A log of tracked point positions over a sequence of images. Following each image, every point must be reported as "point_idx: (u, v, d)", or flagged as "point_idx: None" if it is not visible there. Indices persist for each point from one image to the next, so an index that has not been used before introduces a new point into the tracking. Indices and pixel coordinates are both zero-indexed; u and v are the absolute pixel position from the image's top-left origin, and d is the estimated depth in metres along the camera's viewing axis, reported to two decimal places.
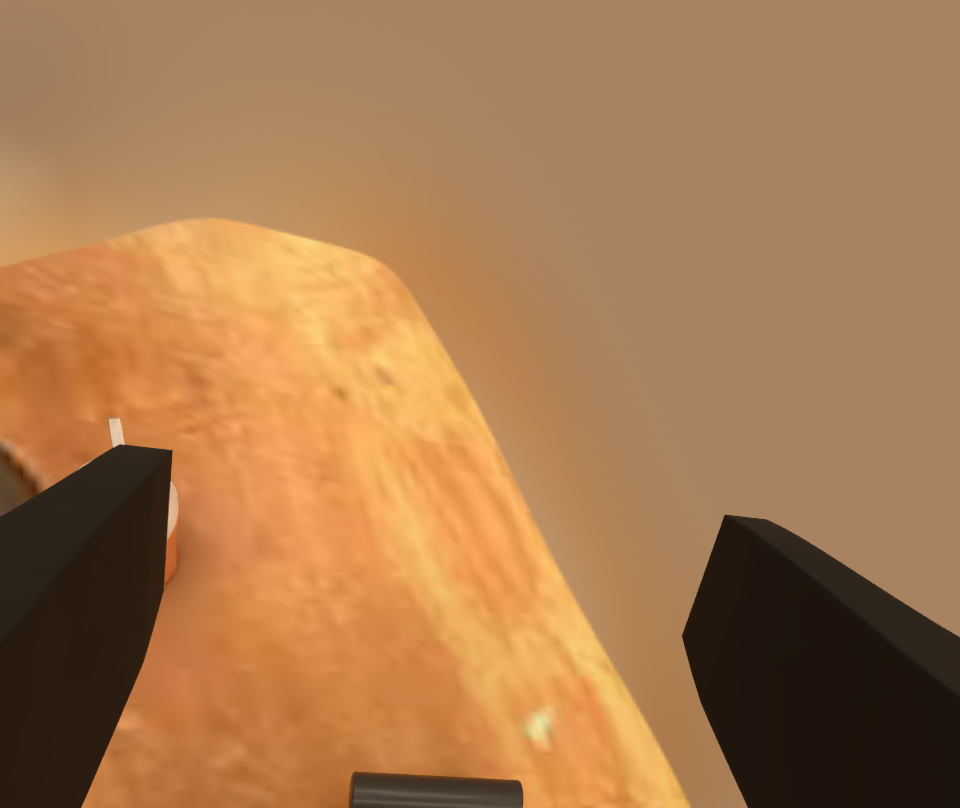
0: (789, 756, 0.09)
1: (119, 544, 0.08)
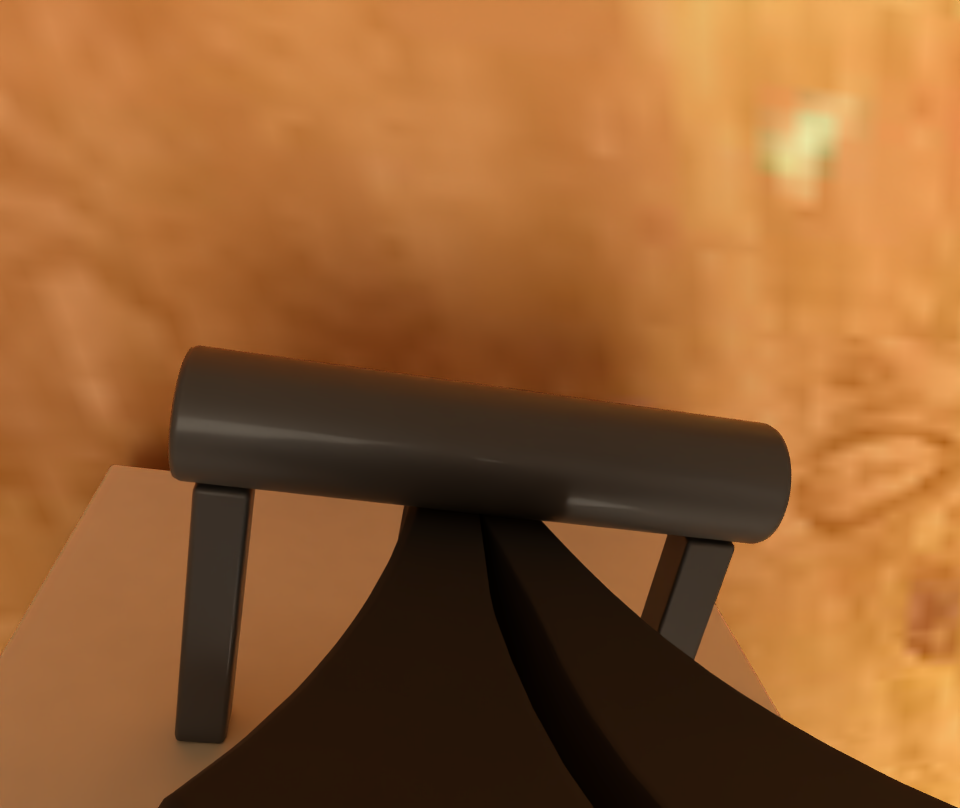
0: None
1: None
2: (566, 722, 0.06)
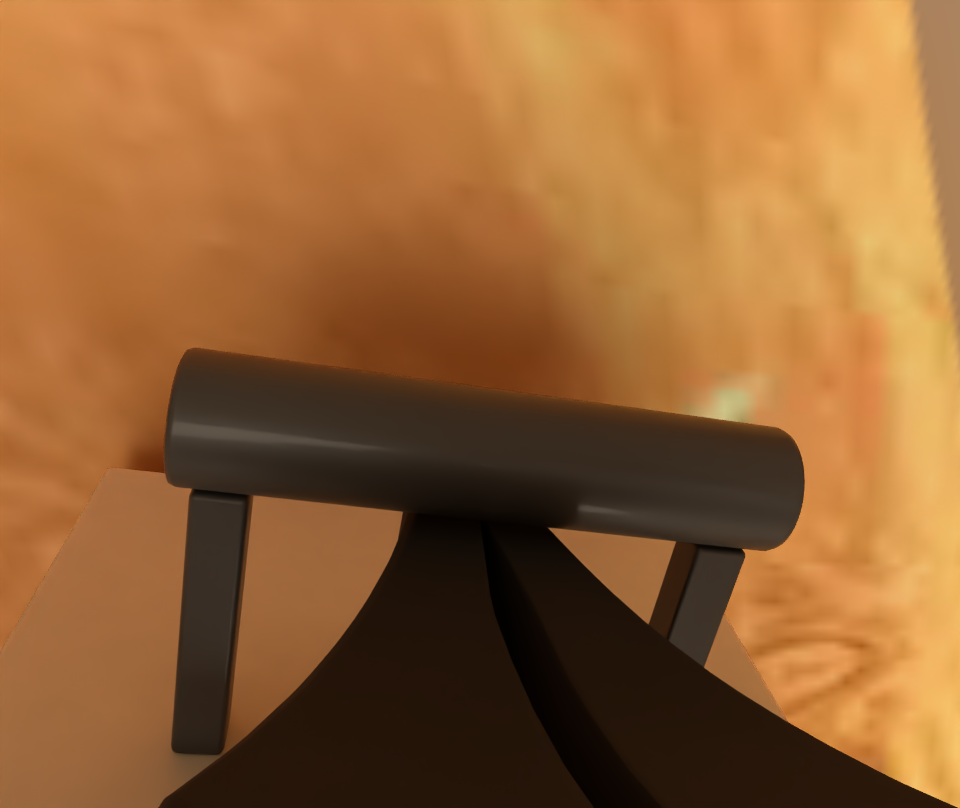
0: None
1: None
2: (566, 722, 0.06)
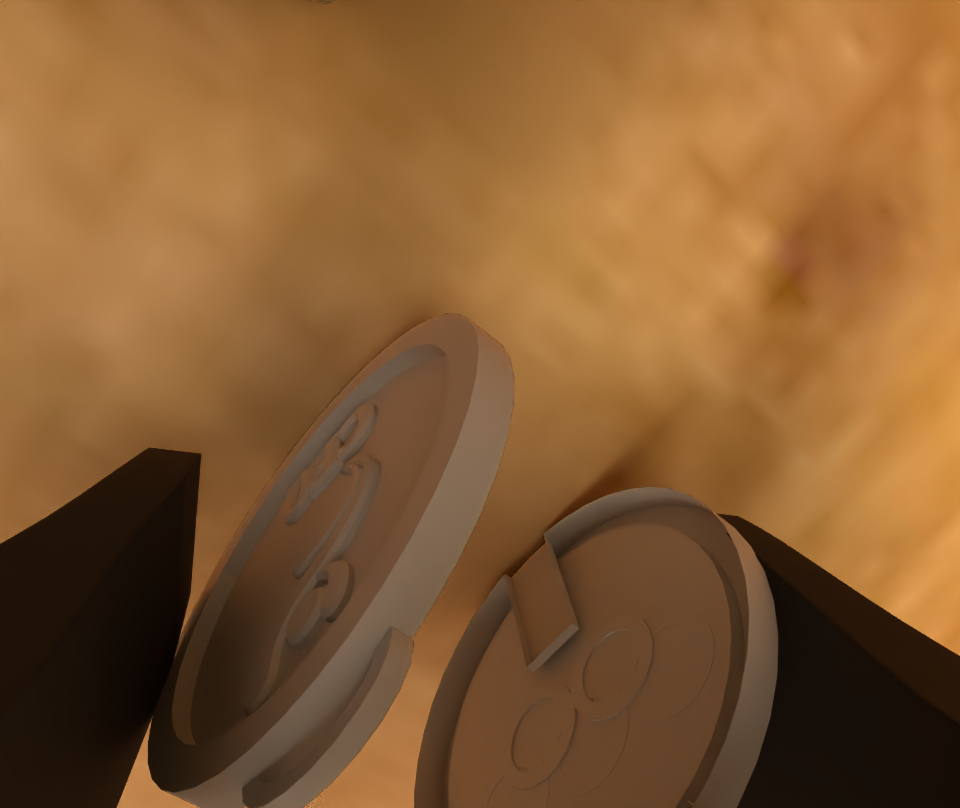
0: None
1: (154, 548, 0.08)
2: (935, 748, 0.07)
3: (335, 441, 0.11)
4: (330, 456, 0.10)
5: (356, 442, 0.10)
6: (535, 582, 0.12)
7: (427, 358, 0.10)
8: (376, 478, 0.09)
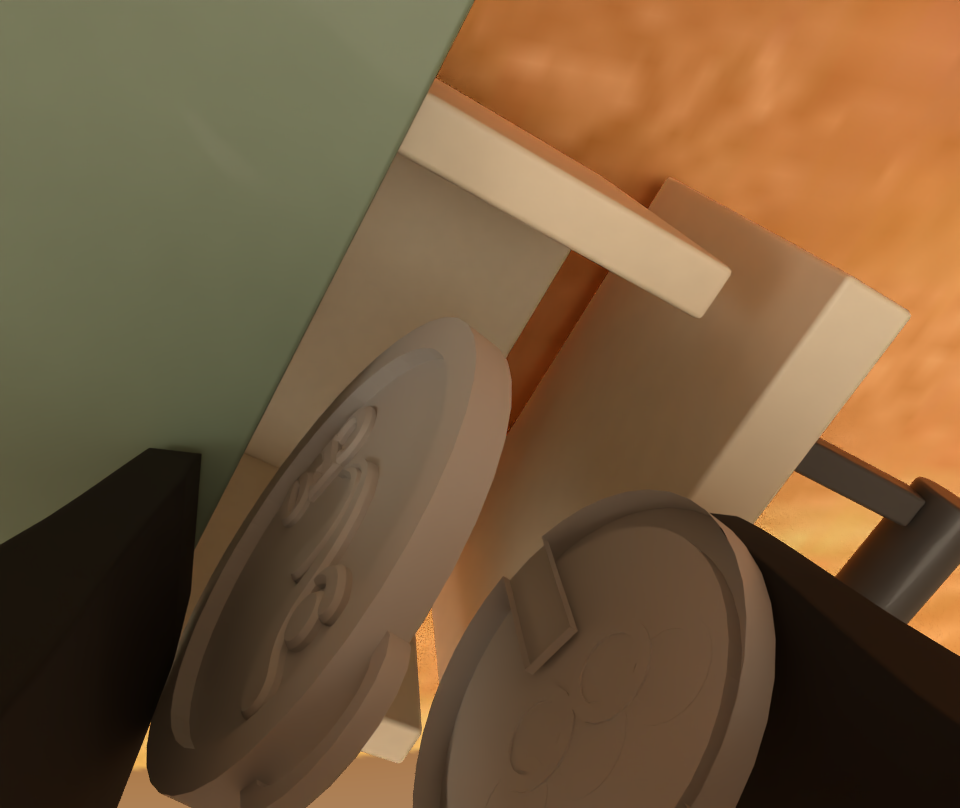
0: None
1: (155, 548, 0.08)
2: (935, 746, 0.07)
3: (334, 444, 0.11)
4: (329, 459, 0.10)
5: (354, 445, 0.10)
6: (534, 585, 0.12)
7: (426, 362, 0.10)
8: (374, 482, 0.09)
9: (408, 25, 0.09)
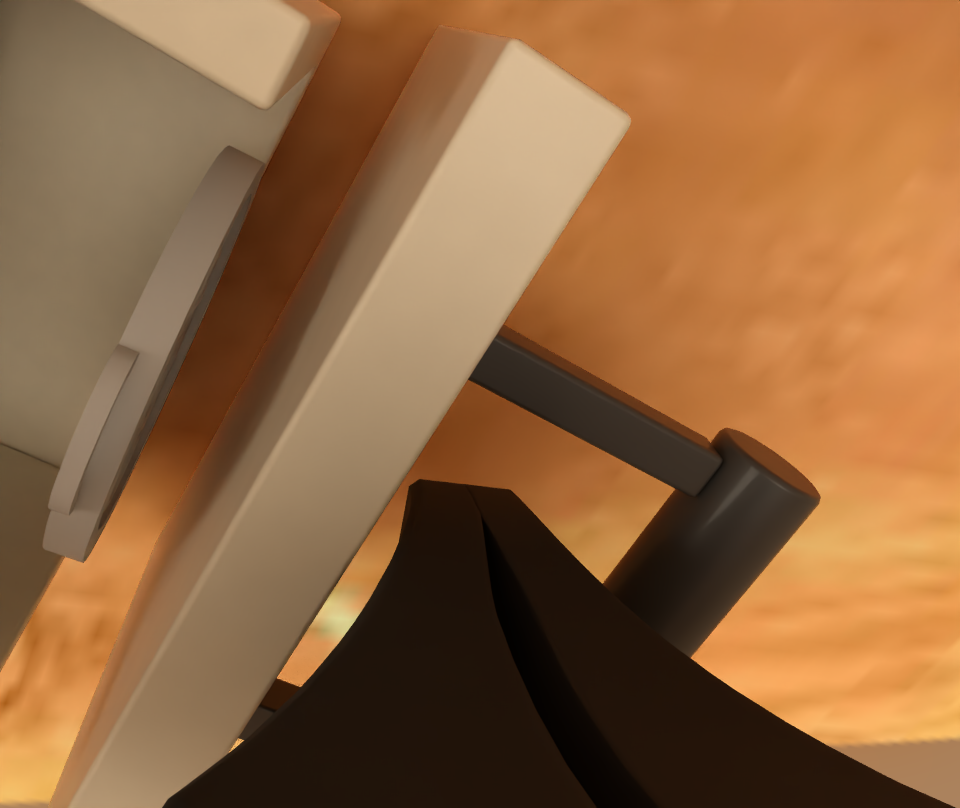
0: None
1: None
2: (565, 722, 0.06)
3: None
4: None
5: None
6: None
7: None
8: None
9: None
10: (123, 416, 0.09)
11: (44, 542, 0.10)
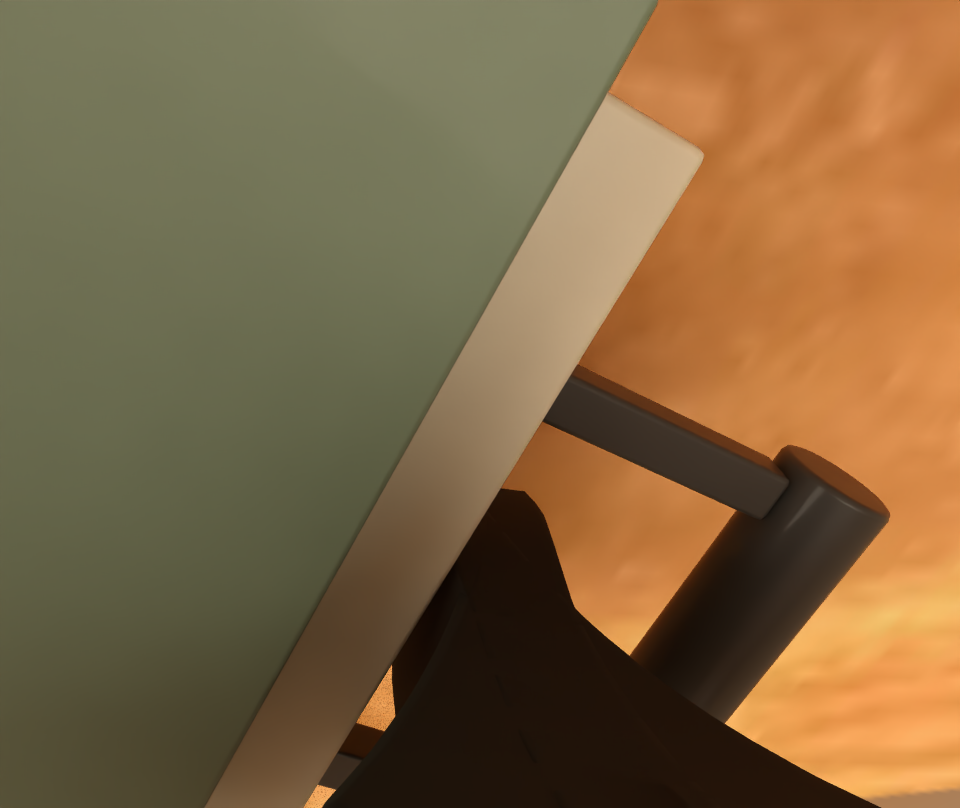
0: None
1: None
2: None
3: None
4: None
5: None
6: None
7: None
8: None
9: (534, 78, 0.05)
10: None
11: None
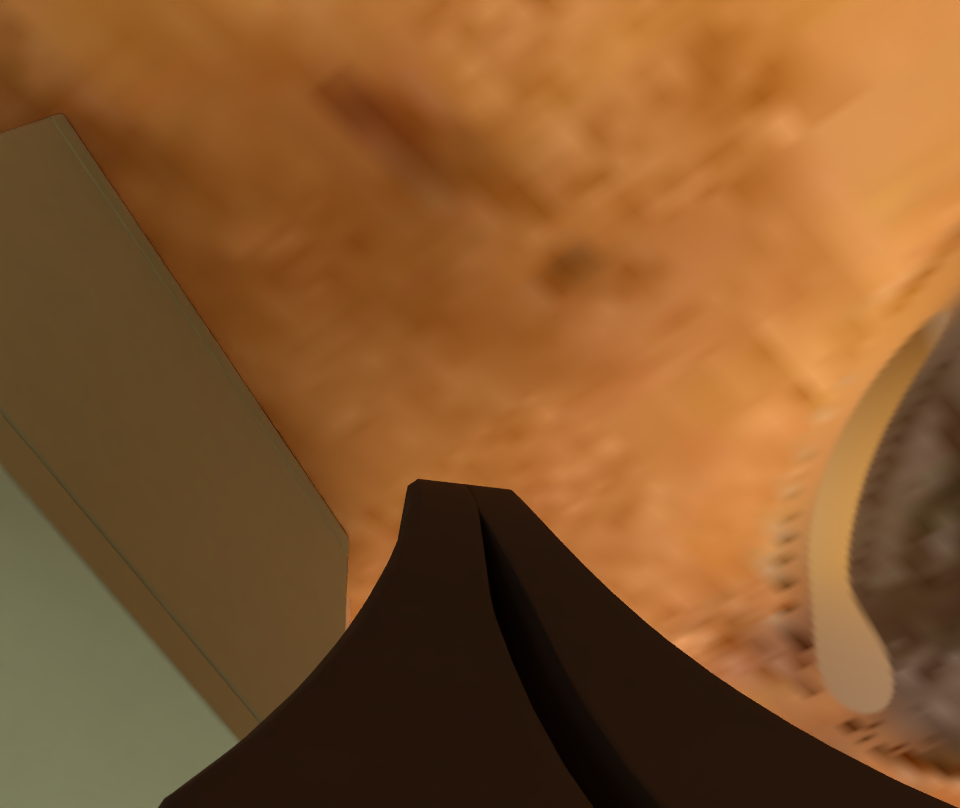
0: None
1: None
2: (566, 722, 0.06)
3: None
4: None
5: None
6: None
7: None
8: None
9: None
10: None
11: None
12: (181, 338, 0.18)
